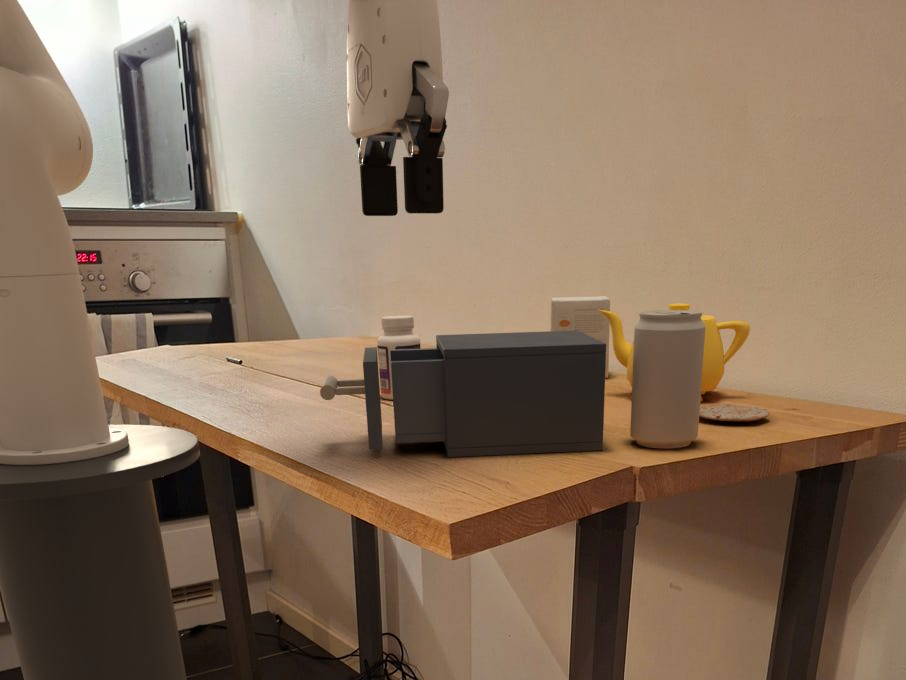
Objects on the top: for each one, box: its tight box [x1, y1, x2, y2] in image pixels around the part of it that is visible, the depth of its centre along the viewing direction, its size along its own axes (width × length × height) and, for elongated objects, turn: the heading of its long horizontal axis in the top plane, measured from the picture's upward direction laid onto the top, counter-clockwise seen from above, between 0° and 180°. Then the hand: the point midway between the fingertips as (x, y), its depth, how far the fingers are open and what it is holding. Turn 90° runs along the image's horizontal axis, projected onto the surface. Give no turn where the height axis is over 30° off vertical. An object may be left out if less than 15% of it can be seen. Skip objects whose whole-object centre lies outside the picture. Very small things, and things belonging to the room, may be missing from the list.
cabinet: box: [435, 330, 606, 458], centre depth 88 cm, size 15×13×10 cm
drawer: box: [319, 346, 447, 450], centre depth 87 cm, size 18×11×8 cm, turn 96°
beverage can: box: [629, 309, 706, 450], centre depth 84 cm, size 6×6×12 cm
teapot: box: [598, 302, 751, 402], centre depth 109 cm, size 18×11×11 cm, turn 74°
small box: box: [549, 295, 611, 379], centre depth 126 cm, size 8×6×10 cm
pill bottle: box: [376, 315, 422, 401], centre depth 114 cm, size 5×5×10 cm
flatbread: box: [699, 403, 771, 422], centre depth 97 cm, size 8×8×1 cm
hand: (401, 214), depth 77 cm, fingers open, 9 cm apart
